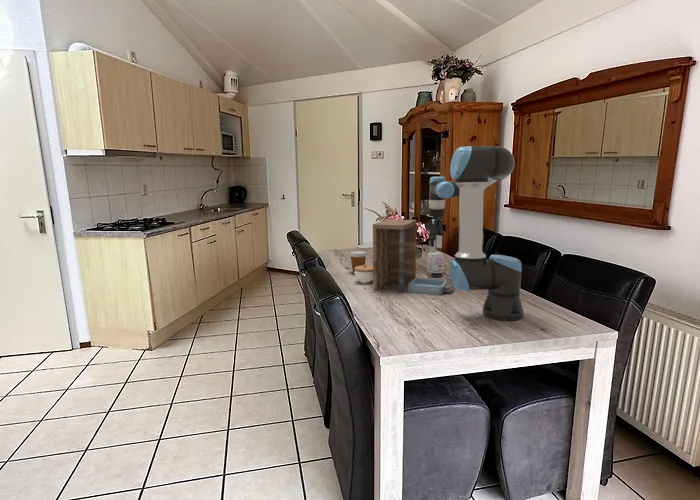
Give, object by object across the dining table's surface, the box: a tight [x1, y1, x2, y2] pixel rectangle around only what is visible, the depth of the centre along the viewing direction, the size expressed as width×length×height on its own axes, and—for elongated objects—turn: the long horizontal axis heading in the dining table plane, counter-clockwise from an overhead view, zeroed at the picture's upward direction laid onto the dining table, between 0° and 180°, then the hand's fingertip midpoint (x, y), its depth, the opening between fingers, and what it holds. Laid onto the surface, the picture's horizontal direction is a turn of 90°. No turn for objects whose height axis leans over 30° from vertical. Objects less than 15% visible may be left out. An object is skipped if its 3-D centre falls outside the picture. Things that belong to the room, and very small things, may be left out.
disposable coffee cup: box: [349, 250, 368, 273], centre depth 229 cm, size 10×10×12 cm
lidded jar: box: [354, 263, 373, 284], centre depth 210 cm, size 11×11×9 cm
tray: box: [407, 277, 454, 296], centre depth 194 cm, size 13×19×4 cm
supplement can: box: [426, 251, 445, 280], centre depth 208 cm, size 8×8×15 cm
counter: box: [372, 218, 417, 294], centre depth 199 cm, size 20×15×32 cm
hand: (435, 250), depth 207 cm, fingers open, 13 cm apart
